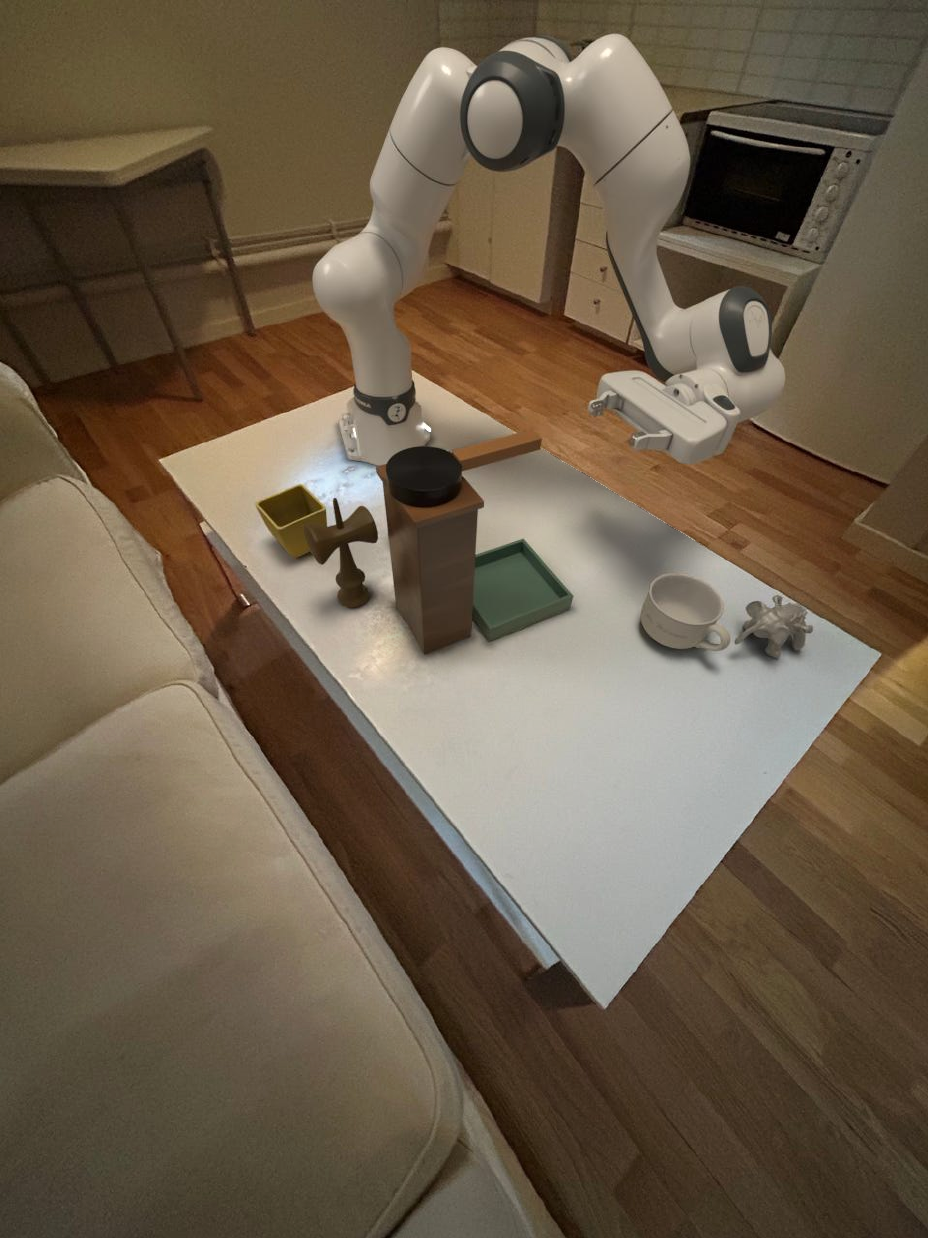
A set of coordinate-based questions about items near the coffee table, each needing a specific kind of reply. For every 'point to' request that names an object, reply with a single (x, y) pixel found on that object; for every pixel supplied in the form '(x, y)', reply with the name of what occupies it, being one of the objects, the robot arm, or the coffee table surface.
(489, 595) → the tray
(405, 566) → the stand
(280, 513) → the flower pot
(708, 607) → the teacup
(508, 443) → the skillet
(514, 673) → the coffee table surface
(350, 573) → the kendama
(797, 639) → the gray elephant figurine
